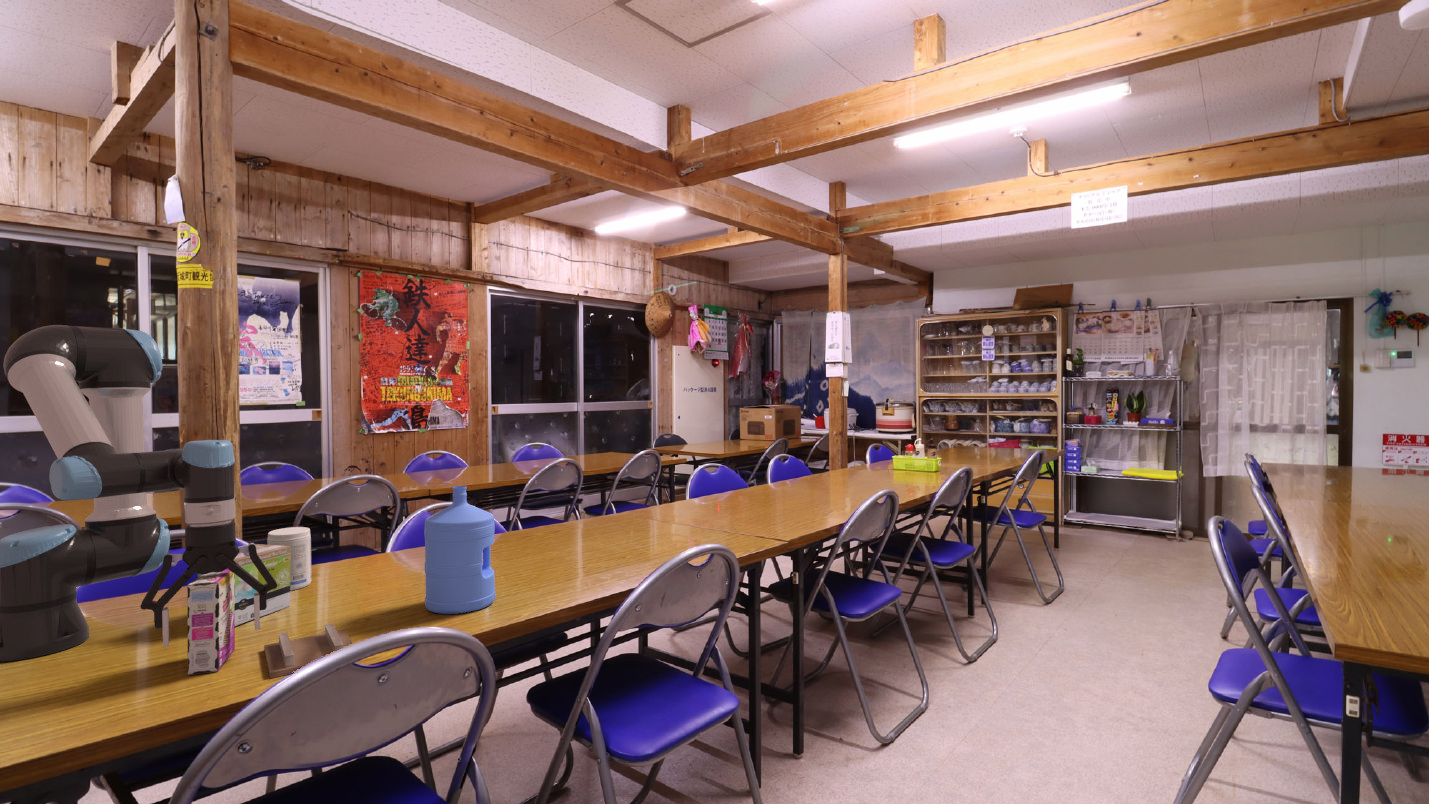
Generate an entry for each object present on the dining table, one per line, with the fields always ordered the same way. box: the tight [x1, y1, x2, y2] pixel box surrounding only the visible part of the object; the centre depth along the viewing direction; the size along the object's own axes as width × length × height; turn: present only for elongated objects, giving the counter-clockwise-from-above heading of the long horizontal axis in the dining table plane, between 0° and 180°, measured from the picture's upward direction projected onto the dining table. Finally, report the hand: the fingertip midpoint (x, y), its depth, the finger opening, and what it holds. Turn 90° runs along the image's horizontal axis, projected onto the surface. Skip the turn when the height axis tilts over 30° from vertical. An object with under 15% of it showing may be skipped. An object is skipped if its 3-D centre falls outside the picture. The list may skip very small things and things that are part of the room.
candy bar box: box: [186, 569, 236, 676], centre depth 124 cm, size 11×5×16 cm, turn 23°
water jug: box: [423, 485, 496, 615], centre depth 157 cm, size 16×16×28 cm
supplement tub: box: [266, 526, 312, 591], centre depth 172 cm, size 10×10×15 cm
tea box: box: [197, 543, 291, 627], centre depth 150 cm, size 15×10×15 cm
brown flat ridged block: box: [263, 623, 353, 679], centre depth 128 cm, size 14×16×3 cm
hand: (213, 635), depth 124 cm, fingers open, 13 cm apart
